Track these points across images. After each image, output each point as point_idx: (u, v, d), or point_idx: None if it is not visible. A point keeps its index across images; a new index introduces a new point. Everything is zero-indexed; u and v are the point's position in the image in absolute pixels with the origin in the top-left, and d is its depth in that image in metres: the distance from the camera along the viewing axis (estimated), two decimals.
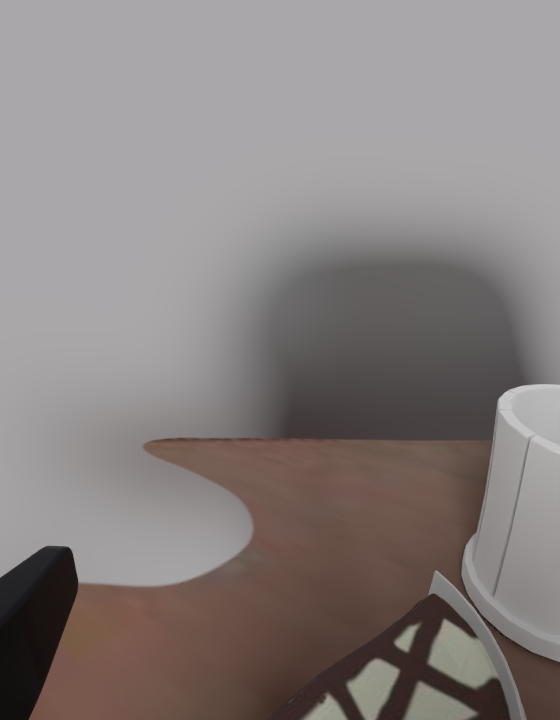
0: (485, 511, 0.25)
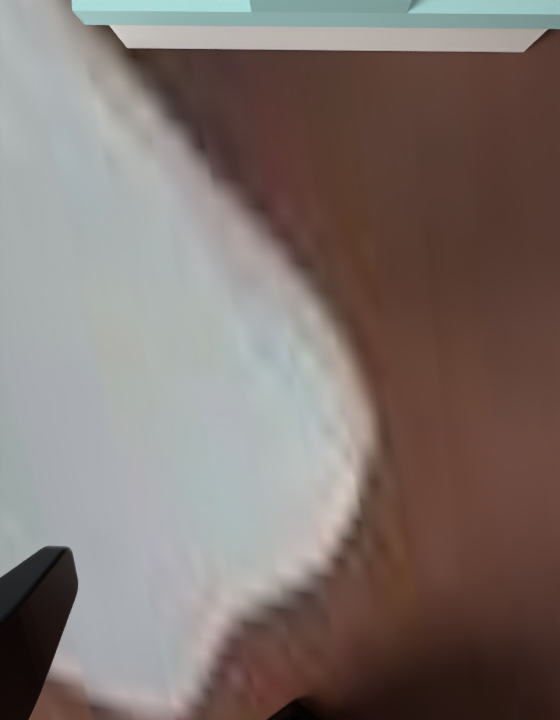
0: None
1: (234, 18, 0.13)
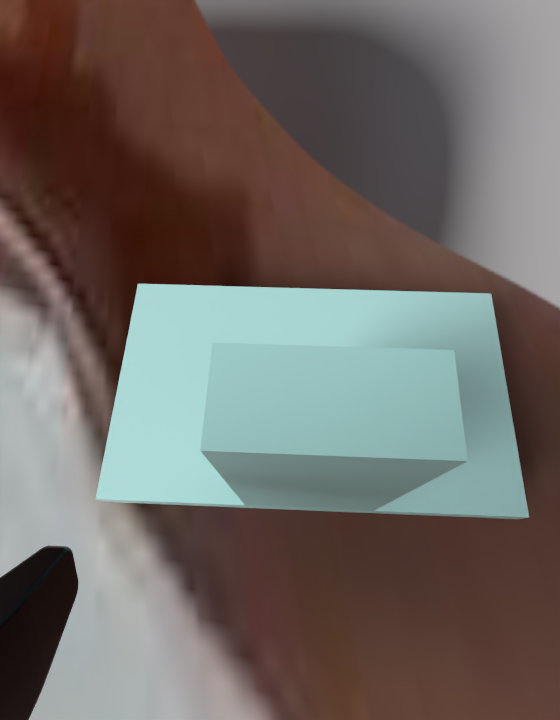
0: None
1: (230, 505, 0.16)
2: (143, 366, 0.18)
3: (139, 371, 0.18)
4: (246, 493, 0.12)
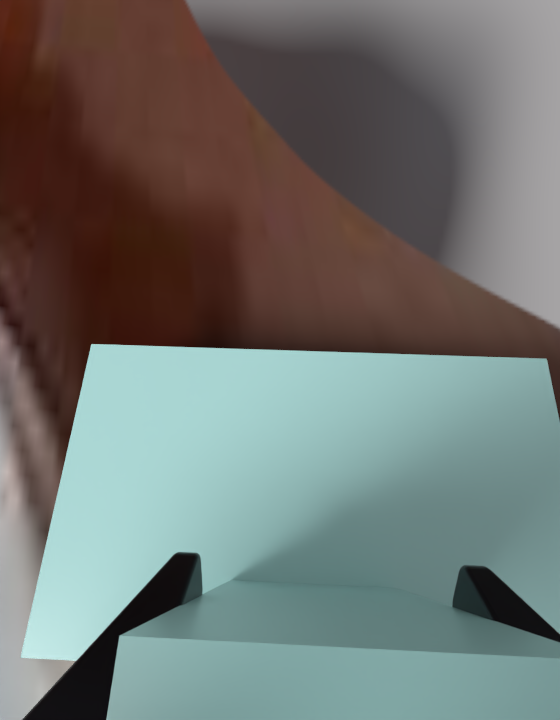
0: None
1: None
2: (93, 460, 0.13)
3: (88, 467, 0.13)
4: None
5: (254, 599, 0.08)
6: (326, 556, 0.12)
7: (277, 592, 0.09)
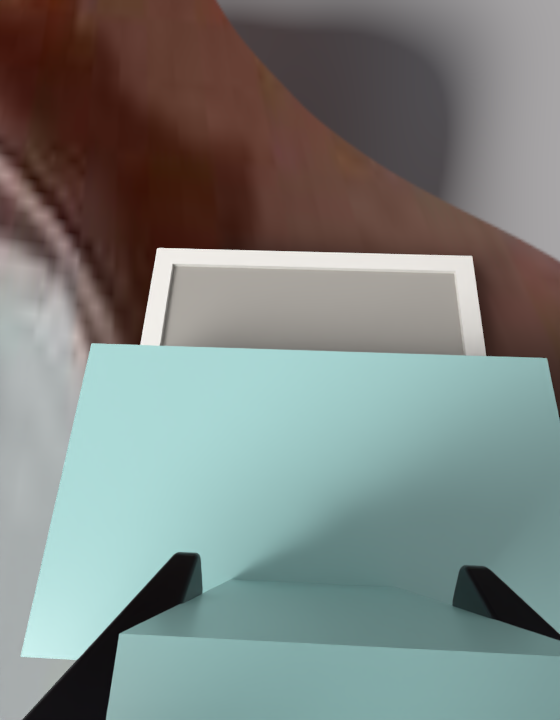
0: None
1: None
2: (93, 459, 0.13)
3: (88, 466, 0.13)
4: None
5: (254, 598, 0.08)
6: (327, 555, 0.12)
7: (277, 591, 0.09)
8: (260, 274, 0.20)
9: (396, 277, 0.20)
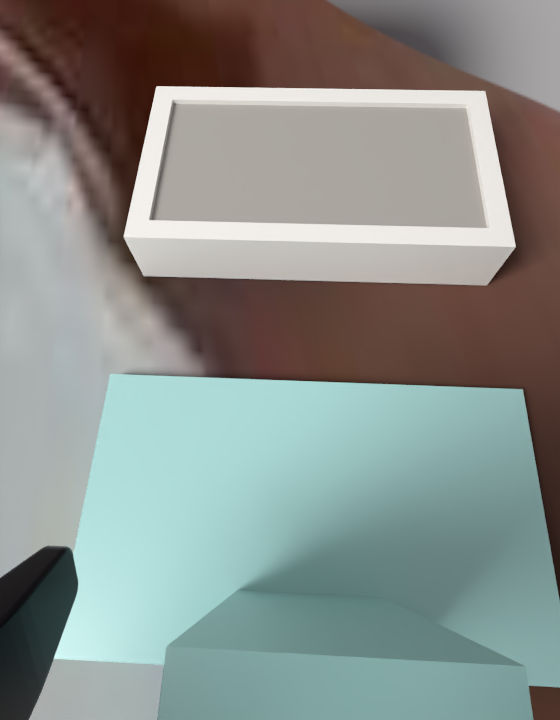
0: None
1: None
2: (113, 481, 0.15)
3: (109, 487, 0.15)
4: None
5: (260, 611, 0.09)
6: (322, 569, 0.14)
7: (279, 604, 0.11)
8: (264, 110, 0.19)
9: (406, 112, 0.19)
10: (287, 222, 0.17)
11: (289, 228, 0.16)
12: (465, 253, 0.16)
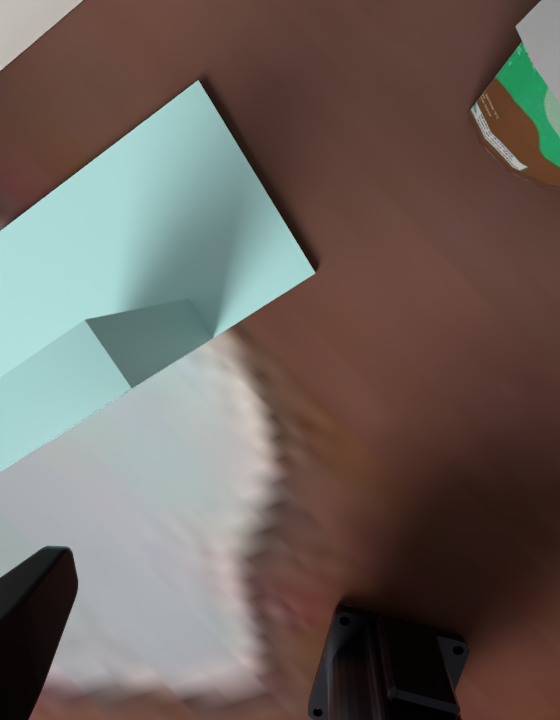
0: None
1: None
2: None
3: None
4: None
5: None
6: (145, 307, 0.20)
7: None
8: None
9: None
10: None
11: None
12: None
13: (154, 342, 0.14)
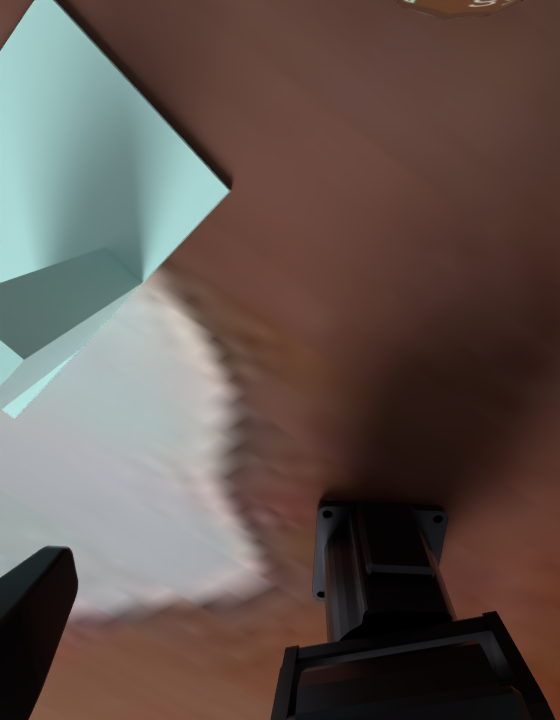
0: None
1: (75, 354, 0.20)
2: None
3: None
4: (45, 374, 0.17)
5: None
6: None
7: None
8: None
9: None
10: None
11: None
12: None
13: (55, 304, 0.13)
